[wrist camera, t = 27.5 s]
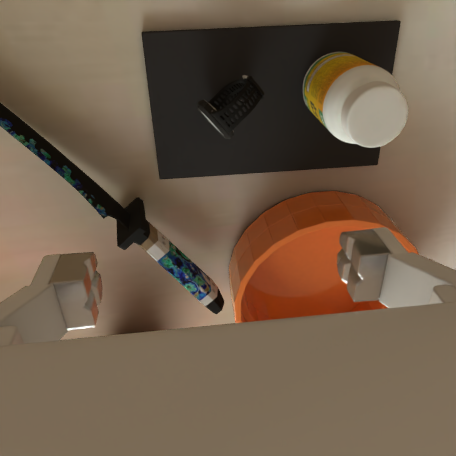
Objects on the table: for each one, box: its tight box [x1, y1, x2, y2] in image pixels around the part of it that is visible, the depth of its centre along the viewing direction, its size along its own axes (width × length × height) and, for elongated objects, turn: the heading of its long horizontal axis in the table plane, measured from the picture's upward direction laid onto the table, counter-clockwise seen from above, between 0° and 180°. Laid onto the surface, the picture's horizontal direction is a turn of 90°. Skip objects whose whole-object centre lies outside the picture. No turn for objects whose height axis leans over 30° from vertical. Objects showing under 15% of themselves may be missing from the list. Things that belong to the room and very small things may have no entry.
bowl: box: [229, 191, 419, 323], centre depth 43 cm, size 18×18×6 cm
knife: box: [0, 103, 224, 314], centre depth 37 cm, size 31×3×4 cm, turn 39°
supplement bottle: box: [303, 52, 408, 148], centre depth 31 cm, size 5×5×10 cm
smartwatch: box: [197, 75, 264, 139], centre depth 33 cm, size 4×5×5 cm
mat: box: [142, 20, 400, 179], centre depth 36 cm, size 20×12×1 cm, turn 92°
